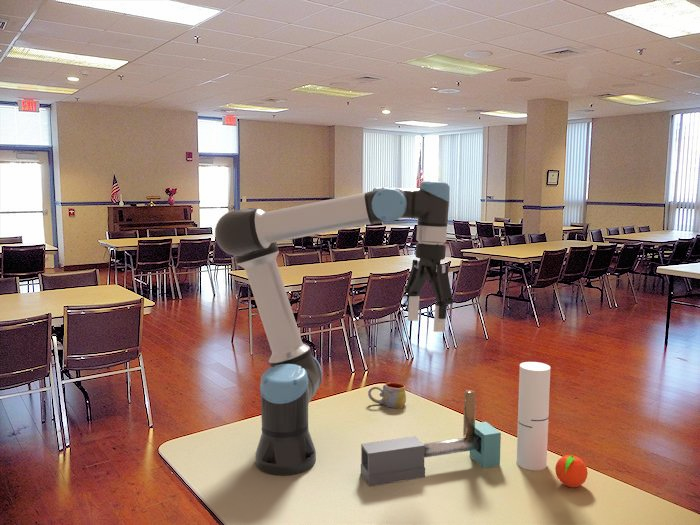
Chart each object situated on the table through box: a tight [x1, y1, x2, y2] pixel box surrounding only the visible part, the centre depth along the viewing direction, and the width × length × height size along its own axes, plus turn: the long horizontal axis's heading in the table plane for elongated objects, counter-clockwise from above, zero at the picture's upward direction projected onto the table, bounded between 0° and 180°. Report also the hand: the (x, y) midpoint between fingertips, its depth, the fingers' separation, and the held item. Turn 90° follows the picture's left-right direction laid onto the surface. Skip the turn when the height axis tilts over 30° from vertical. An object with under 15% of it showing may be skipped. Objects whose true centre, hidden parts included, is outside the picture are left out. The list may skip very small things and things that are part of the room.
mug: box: [367, 382, 407, 409], centre depth 183 cm, size 12×7×7 cm, turn 81°
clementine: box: [554, 454, 589, 488], centre depth 132 cm, size 8×7×7 cm
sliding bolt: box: [423, 389, 481, 459], centre depth 141 cm, size 3×18×15 cm, turn 107°
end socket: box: [469, 421, 502, 469], centre depth 144 cm, size 7×4×8 cm, turn 17°
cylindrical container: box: [516, 361, 551, 472], centre depth 142 cm, size 7×7×25 cm
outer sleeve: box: [360, 435, 426, 487], centre depth 137 cm, size 6×14×8 cm, turn 107°
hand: (425, 325), depth 148 cm, fingers open, 13 cm apart
